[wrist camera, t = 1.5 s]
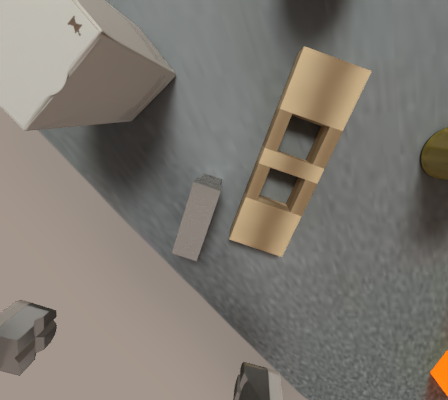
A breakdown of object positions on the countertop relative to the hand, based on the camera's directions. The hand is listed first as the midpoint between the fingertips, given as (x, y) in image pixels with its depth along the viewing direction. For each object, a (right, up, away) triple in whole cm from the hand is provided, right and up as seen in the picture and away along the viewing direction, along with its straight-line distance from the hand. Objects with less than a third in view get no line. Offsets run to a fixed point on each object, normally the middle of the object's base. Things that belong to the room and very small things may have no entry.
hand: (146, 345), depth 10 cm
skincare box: (-7, +20, +18) cm, 28 cm away
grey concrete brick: (0, +5, +22) cm, 23 cm away
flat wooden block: (+11, +11, +19) cm, 25 cm away
